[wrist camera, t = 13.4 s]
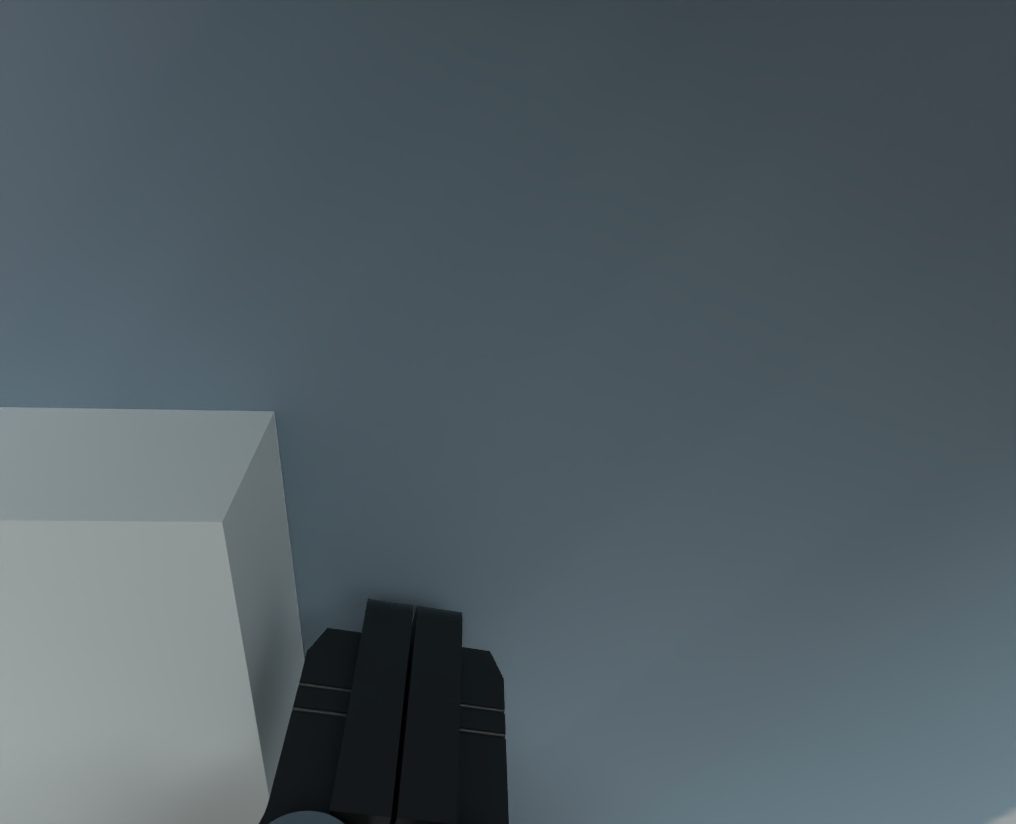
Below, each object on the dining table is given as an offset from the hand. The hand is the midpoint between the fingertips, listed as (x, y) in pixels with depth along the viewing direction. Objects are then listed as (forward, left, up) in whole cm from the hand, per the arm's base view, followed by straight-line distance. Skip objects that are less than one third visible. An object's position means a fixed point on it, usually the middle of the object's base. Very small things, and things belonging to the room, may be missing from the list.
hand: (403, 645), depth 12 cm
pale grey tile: (0, -5, -1) cm, 5 cm away
